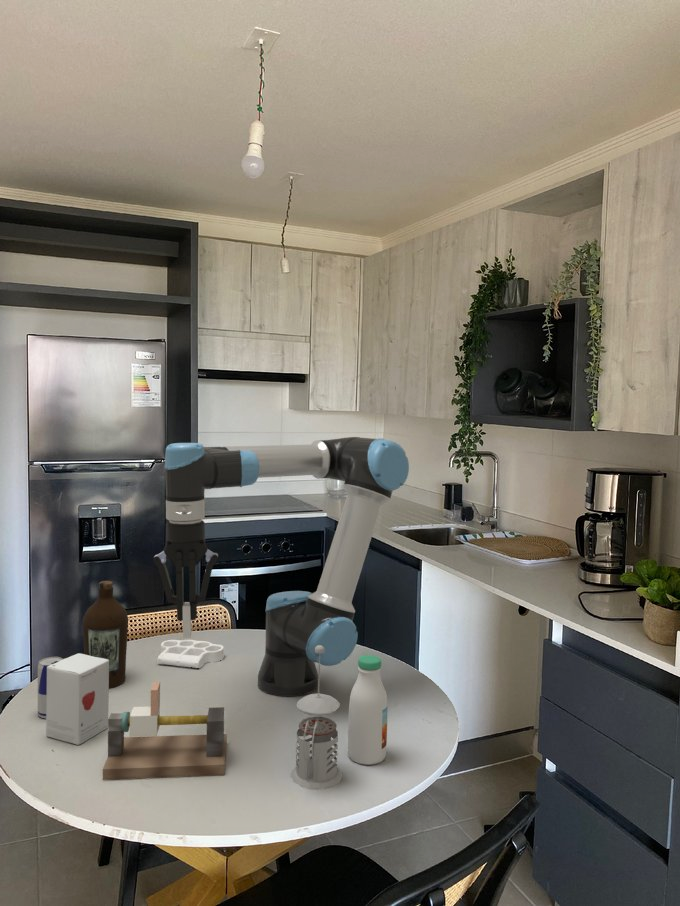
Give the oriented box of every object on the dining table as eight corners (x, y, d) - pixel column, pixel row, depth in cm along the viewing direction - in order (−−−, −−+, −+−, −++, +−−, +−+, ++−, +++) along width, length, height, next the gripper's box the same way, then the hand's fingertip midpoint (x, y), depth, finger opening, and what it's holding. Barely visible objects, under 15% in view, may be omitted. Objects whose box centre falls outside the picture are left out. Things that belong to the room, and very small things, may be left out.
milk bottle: (374, 770, 131) (377, 668, 129) (340, 758, 135) (343, 659, 134) (392, 753, 137) (396, 656, 136) (359, 742, 141) (362, 648, 140)
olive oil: (85, 674, 172) (85, 577, 171) (129, 672, 175) (130, 576, 173) (79, 692, 162) (79, 588, 160) (126, 689, 164) (126, 587, 163)
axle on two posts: (226, 743, 140) (227, 696, 139) (223, 774, 128) (224, 724, 127) (115, 747, 137) (116, 699, 136) (102, 779, 125) (102, 728, 124)
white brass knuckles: (146, 665, 180) (171, 647, 195) (209, 673, 177) (230, 653, 191) (146, 653, 180) (171, 635, 194) (209, 660, 176) (230, 641, 191)
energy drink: (54, 720, 147) (54, 666, 146) (32, 717, 148) (32, 664, 148) (69, 710, 153) (69, 657, 152) (47, 707, 154) (47, 655, 153)
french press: (347, 765, 132) (350, 639, 131) (333, 798, 121) (337, 661, 119) (298, 758, 135) (301, 634, 133) (280, 789, 123) (283, 655, 122)
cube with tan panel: (159, 726, 134) (160, 681, 133) (156, 735, 130) (157, 689, 129) (133, 726, 133) (133, 682, 132) (129, 736, 129) (130, 690, 128)
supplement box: (78, 746, 137) (78, 673, 136) (44, 737, 140) (44, 666, 139) (110, 727, 145) (110, 658, 144) (77, 718, 148) (77, 651, 147)
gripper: (149, 524, 131) (151, 643, 133) (218, 523, 133) (219, 640, 135) (154, 517, 138) (156, 630, 141) (219, 516, 140) (220, 627, 142)
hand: (187, 635), depth 138 cm, fingers closed
